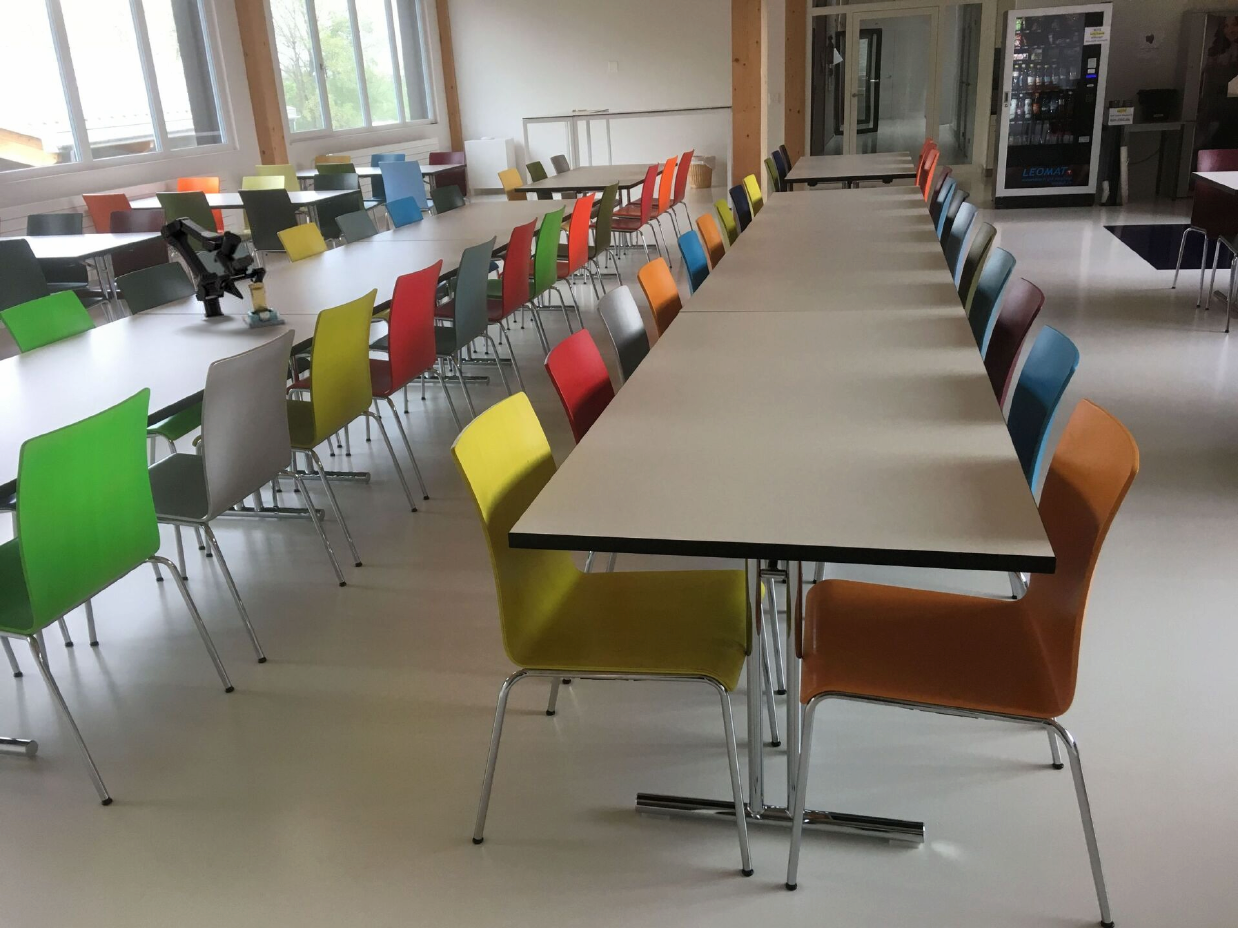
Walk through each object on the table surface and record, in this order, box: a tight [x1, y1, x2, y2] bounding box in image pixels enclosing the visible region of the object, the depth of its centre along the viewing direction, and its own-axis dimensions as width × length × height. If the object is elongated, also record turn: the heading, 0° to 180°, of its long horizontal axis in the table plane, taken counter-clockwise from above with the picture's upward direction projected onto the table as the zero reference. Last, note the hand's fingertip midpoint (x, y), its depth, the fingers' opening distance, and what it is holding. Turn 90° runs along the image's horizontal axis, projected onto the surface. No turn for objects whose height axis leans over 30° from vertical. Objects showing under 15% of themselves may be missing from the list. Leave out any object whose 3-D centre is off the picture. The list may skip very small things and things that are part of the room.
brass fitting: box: [248, 282, 269, 315], centre depth 346 cm, size 5×5×12 cm
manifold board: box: [241, 307, 286, 329], centre depth 347 cm, size 18×12×4 cm, turn 28°
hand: (253, 296), depth 347 cm, fingers open, 9 cm apart
